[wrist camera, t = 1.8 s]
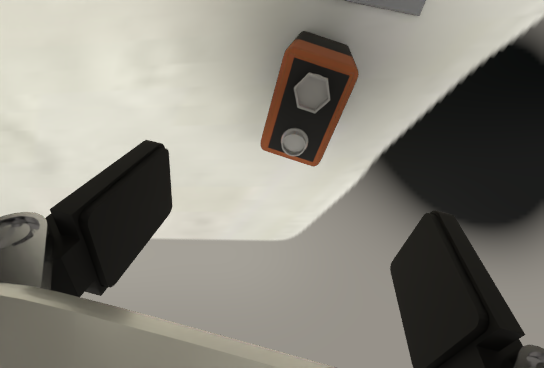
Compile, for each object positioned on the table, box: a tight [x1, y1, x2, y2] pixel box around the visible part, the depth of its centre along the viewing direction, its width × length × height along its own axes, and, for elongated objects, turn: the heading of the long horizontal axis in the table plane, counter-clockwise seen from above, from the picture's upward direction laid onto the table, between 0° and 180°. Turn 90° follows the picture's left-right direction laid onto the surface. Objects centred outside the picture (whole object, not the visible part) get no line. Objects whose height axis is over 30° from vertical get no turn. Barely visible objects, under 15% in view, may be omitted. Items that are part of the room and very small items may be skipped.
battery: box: [261, 31, 358, 166], centre depth 19 cm, size 4×7×10 cm, turn 165°
